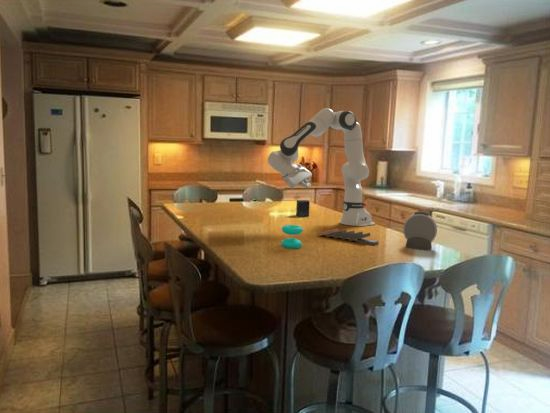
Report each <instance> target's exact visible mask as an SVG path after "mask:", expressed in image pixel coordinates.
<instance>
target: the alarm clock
mask: <svg viewBox="0 0 550 413" xmlns="http://www.w3.org/2000/svg"><path fill="white" fill-rule="evenodd" d="M402 230H403V231H402V232H403V235H404V238H405V239H406V243H405V247H404V248H406V249H412V250H419V251H432V247H433V246H432V242H433V241H434V240H435V239H436V237H437V233H438V225H437V222H436V220H435V219H434V218H433V217H432V216H431V215H429V213H428V212H425V211H420V210H419V211H415V212H414V213H413V214H411V215H410V216H409V217H408V218H407V219H406V220H405V222H404V223H403V227H402Z"/></svg>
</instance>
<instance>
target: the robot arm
mask: <svg viewBox="0 0 550 413" xmlns="http://www.w3.org/2000/svg"><path fill="white" fill-rule="evenodd" d="M328 129H330V130H335V131H337V130H338V131H342V132H343V139H344V140H343V142H344V154H345V156H346V158H347V161H346V162H345V163H344V164H343V165H342V167H341V173H342V174H341V175H343V176H342V178H343V183H344V184H343V185H344V199H343V203H342V209H343V210H342V215H341V218H340V219H341V220H340V222H339V223H340V224H341V225H347V226H354V227H355V226H356V227H366V226H374V225H376V223H375V221H372V220H373V219H372V218H373V217H372V214H371V213H370V212H369V211H368V210H366V208H365V207H367V206H368V203H367V202H363V190H364V189H363V187H362V184H361V181H364V180H366V179H367V178H368V177H369V176H370V168H369V166H368V165H367V161H366V158H365V154H364V145H363V132H362V127H361V125H360V123H359V122H357V118H356V116H355V114H354V112H352V111H349V110H339V111H333V110H332V109H331V108H328V107H325V108H322V109H321V110H319V111H318V112H317V113H316V114H315V115H313V116H312V118H311V119H309V121H308V122H306V123H305V124H303V125H302V126H301V127H300V128H299V129H297V130H296V131H295V132H294V133H293V134H291V135H289V136H288V137H285V138H282V140H281V141H280V145H279V148H280V149H279V150H277V151H271V152H270V153H269V155H268V158H267V164H268V165H269V166H270V167H271V168H272V169H273V170H274V171H275V172H277V173H280V175H281V176H282V180H283V181H284V183H285V184H286V185H287V186H288V187H289V188H290V189H295V188H296V187H298V186H299V187H300V186H301V187H305V188H306V189H309V188H310V187H311V185H312V184H311V183H310V182H309V180H311V178H312V176H313V174H312V173H311V171H309V169H307V168H305V167H304V166H303V165H302V164H300V163H299V164H295V162H297V160H298V158H299V146H300V144H301V143H302V142H303V141H304V140H305V139H307V138H308V137H309V136H312V137H315V138H317V137H320V136H322V135H323V134H324V133H325V132H326V131H327V130H328Z"/></svg>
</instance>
